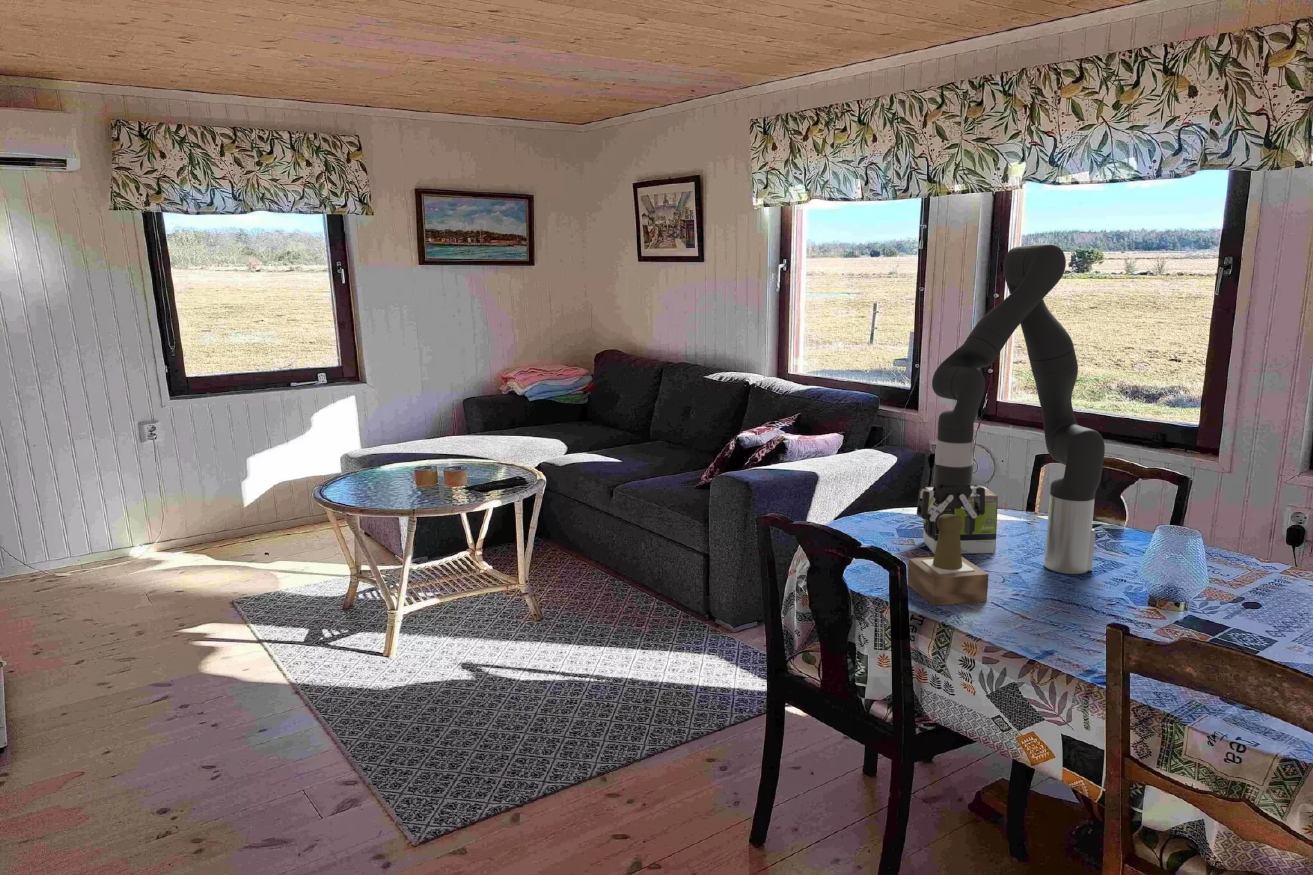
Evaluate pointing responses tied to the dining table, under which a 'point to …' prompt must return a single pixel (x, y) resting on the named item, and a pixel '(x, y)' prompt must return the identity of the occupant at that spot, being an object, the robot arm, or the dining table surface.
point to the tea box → (984, 526)
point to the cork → (948, 542)
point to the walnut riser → (947, 582)
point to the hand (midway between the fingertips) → (949, 535)
